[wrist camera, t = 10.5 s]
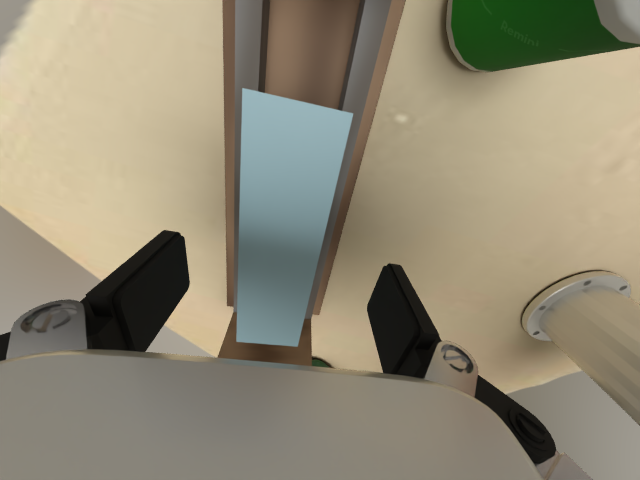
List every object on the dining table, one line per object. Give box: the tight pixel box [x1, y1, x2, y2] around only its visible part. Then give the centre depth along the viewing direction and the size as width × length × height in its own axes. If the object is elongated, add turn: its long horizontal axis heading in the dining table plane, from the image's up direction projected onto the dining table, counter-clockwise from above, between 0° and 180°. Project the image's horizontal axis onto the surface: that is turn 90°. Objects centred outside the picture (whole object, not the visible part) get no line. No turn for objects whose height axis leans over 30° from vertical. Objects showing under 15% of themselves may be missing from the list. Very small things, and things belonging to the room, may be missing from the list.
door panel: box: [236, 88, 353, 347], centre depth 16 cm, size 4×14×10 cm, turn 169°
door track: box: [218, 0, 406, 366], centre depth 17 cm, size 11×30×12 cm, turn 169°
